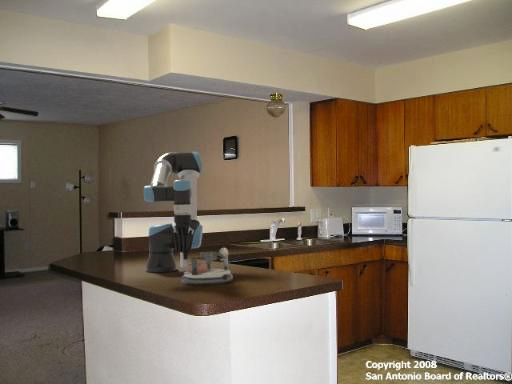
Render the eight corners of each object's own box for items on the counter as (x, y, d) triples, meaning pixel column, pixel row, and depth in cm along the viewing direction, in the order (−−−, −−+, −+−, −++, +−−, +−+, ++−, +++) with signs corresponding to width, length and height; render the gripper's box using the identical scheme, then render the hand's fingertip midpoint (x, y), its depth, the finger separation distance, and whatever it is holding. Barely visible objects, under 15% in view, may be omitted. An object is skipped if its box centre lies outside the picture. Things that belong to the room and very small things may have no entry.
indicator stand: (216, 277, 230) (216, 248, 230) (225, 275, 235) (224, 246, 235) (225, 278, 227) (224, 248, 227) (234, 276, 232) (233, 247, 232)
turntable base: (171, 282, 219) (171, 278, 219) (205, 275, 237) (205, 271, 237) (210, 287, 206) (209, 282, 206) (243, 279, 224) (242, 274, 224)
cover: (184, 271, 224) (184, 262, 224) (197, 269, 230) (197, 260, 230) (198, 273, 219) (198, 263, 219) (210, 270, 225) (210, 261, 225)
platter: (174, 277, 219) (173, 258, 219) (205, 270, 235) (204, 253, 235) (213, 281, 206) (212, 261, 206) (243, 274, 222) (242, 255, 222)
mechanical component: (203, 272, 248) (203, 251, 248) (218, 273, 241) (218, 252, 241) (199, 272, 245) (198, 252, 245) (214, 274, 239) (213, 253, 239)
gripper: (166, 214, 230) (167, 266, 230) (187, 214, 223) (188, 268, 222) (178, 213, 236) (179, 264, 236) (198, 213, 229) (200, 266, 228)
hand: (183, 266), depth 229 cm, fingers closed
